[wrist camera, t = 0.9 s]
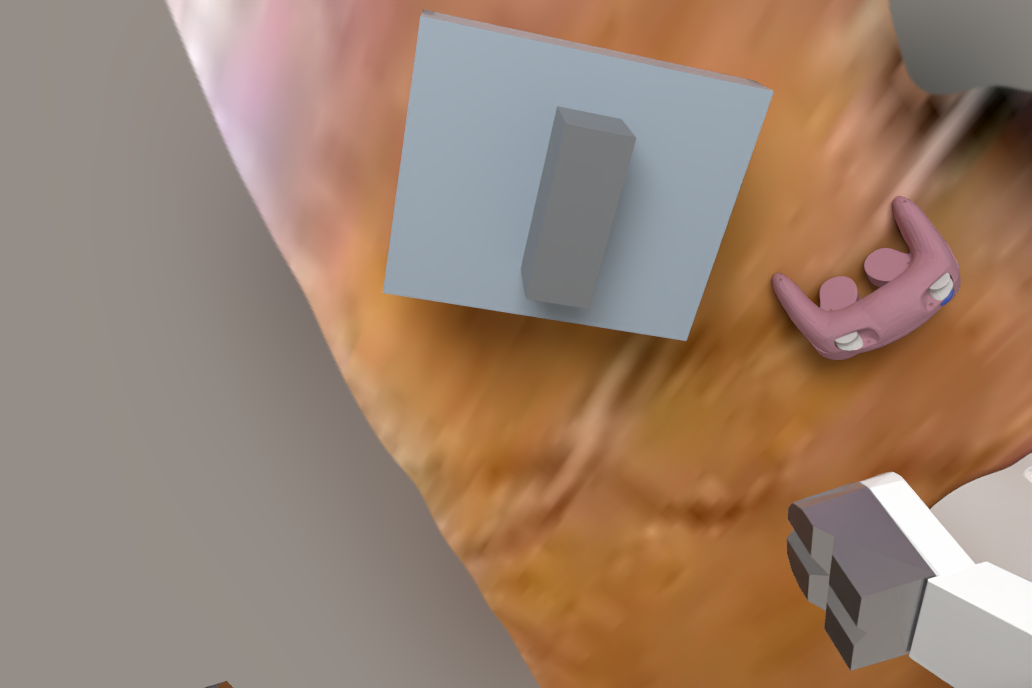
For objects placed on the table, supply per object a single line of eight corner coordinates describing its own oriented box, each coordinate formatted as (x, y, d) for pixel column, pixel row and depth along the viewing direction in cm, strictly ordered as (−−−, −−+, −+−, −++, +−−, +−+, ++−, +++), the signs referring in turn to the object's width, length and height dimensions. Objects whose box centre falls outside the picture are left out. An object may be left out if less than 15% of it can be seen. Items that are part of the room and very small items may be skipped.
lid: (754, 80, 37) (804, 107, 32) (674, 318, 43) (704, 375, 38) (423, 9, 35) (416, 25, 29) (387, 271, 41) (375, 325, 35)
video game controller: (778, 306, 52) (836, 386, 48) (760, 275, 49) (822, 357, 45) (913, 222, 50) (986, 298, 46) (905, 183, 46) (984, 261, 42)
